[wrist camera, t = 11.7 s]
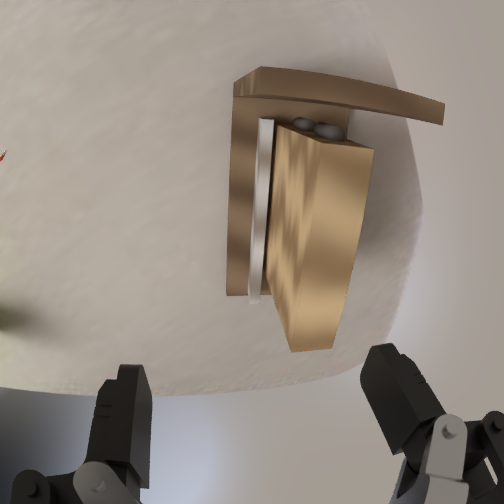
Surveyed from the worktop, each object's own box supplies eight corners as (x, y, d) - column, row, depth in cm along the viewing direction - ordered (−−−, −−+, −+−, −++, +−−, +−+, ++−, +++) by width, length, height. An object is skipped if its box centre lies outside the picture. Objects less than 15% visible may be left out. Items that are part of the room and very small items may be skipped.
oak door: (274, 113, 29) (323, 126, 17) (322, 118, 30) (397, 137, 18) (262, 266, 37) (291, 352, 25) (304, 265, 38) (349, 346, 25)
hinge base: (234, 82, 28) (260, 66, 14) (347, 94, 30) (445, 103, 16) (226, 291, 39) (240, 396, 25) (319, 287, 41) (369, 379, 27)
